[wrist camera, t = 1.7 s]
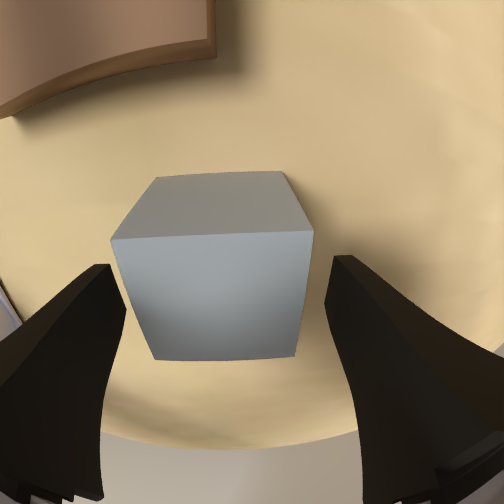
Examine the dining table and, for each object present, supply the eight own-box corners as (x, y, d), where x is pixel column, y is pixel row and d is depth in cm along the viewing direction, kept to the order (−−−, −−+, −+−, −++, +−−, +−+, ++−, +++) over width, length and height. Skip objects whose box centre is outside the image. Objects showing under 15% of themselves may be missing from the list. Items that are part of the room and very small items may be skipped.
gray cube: (174, 275, 13) (155, 359, 9) (156, 176, 10) (109, 239, 6) (276, 271, 13) (294, 356, 9) (281, 170, 11) (313, 230, 6)
